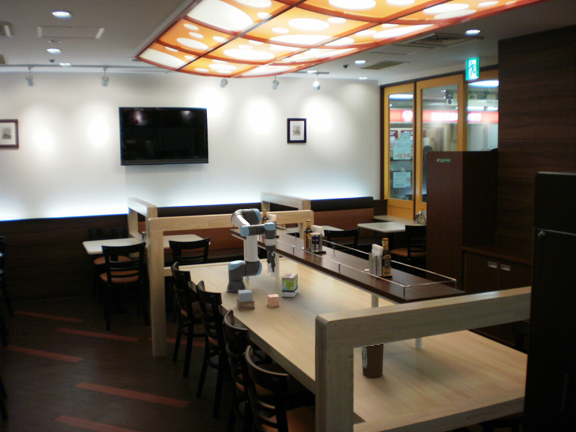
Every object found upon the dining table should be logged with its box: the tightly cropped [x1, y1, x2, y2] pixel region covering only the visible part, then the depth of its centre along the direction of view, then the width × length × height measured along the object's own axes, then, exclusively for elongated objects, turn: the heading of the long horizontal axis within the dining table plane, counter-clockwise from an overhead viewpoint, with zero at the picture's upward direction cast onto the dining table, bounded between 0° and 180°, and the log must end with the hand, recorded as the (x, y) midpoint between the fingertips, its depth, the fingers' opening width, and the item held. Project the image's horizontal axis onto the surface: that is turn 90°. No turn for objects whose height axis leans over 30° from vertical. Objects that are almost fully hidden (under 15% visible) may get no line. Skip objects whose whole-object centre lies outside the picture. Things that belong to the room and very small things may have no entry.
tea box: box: [281, 273, 299, 298], centre depth 394 cm, size 15×10×15 cm, turn 168°
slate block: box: [237, 288, 254, 302], centre depth 362 cm, size 9×9×6 cm
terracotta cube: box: [266, 293, 280, 308], centre depth 366 cm, size 7×7×7 cm
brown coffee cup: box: [360, 344, 385, 379], centre depth 244 cm, size 11×11×25 cm
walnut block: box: [236, 297, 256, 312], centre depth 362 cm, size 11×11×6 cm
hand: (271, 274), depth 364 cm, fingers open, 13 cm apart
